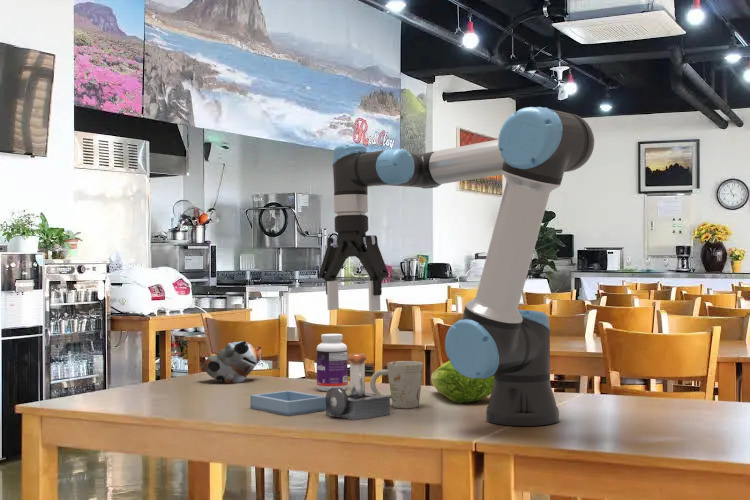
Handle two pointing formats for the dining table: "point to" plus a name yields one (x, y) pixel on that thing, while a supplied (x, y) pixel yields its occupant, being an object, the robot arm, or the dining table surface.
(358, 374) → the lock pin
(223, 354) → the lucky cat figurine
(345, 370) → the pill bottle
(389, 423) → the dining table surface
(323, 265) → the robot arm
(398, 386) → the mug
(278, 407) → the tray
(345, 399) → the block
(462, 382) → the lettuce
